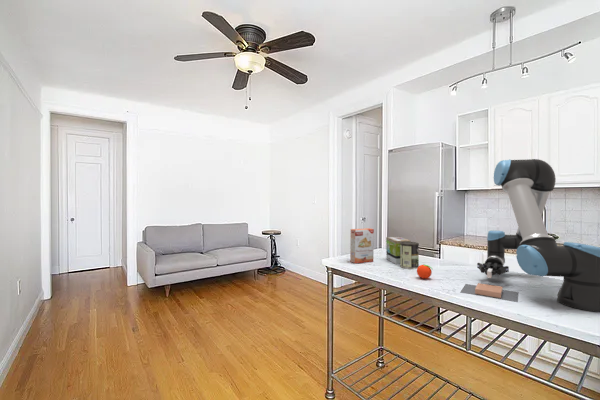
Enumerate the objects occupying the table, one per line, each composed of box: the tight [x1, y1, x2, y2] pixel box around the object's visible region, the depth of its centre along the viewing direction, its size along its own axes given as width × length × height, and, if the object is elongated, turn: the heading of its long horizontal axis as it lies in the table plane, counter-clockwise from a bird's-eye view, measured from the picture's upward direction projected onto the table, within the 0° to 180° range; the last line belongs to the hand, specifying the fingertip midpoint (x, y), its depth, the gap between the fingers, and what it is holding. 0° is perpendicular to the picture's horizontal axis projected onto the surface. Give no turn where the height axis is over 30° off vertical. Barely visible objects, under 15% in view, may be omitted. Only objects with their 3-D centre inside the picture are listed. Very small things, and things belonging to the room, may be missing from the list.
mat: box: [459, 283, 519, 303], centre depth 128 cm, size 20×15×1 cm
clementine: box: [416, 264, 432, 280], centre depth 151 cm, size 8×7×7 cm
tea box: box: [385, 236, 412, 265], centre depth 189 cm, size 15×10×15 cm, turn 6°
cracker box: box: [349, 227, 375, 264], centre depth 189 cm, size 14×6×21 cm, turn 113°
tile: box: [475, 282, 504, 298], centre depth 127 cm, size 9×2×10 cm
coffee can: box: [399, 241, 420, 270], centre depth 175 cm, size 10×10×14 cm
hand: (489, 274), depth 130 cm, fingers closed
